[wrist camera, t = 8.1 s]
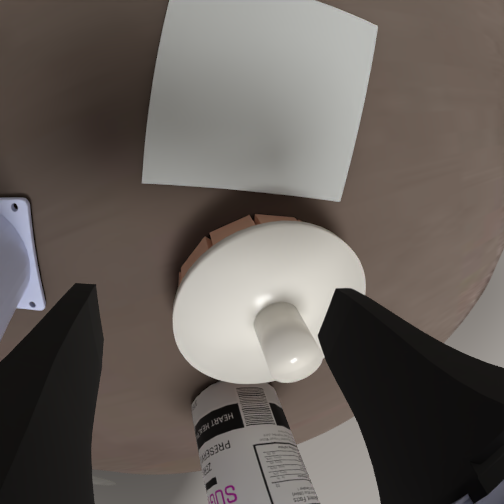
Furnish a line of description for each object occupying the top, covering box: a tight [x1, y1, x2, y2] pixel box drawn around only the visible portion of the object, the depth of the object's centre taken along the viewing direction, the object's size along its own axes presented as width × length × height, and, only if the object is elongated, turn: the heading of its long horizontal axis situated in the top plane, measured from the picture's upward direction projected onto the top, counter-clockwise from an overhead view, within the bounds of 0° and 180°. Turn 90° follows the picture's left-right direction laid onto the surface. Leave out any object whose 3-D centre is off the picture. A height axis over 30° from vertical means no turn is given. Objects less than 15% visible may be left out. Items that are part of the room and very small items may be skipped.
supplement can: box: [192, 381, 320, 504], centre depth 21 cm, size 8×8×15 cm
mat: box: [142, 0, 378, 202], centre depth 15 cm, size 12×12×1 cm
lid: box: [172, 221, 366, 384], centre depth 17 cm, size 12×12×4 cm
